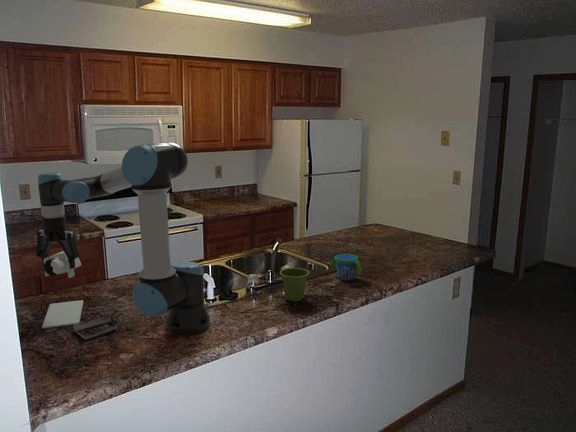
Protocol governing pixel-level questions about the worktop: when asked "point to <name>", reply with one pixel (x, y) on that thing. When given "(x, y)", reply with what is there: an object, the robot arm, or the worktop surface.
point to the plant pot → (294, 283)
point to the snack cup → (346, 266)
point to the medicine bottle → (58, 264)
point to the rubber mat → (63, 314)
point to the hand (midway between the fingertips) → (60, 275)
